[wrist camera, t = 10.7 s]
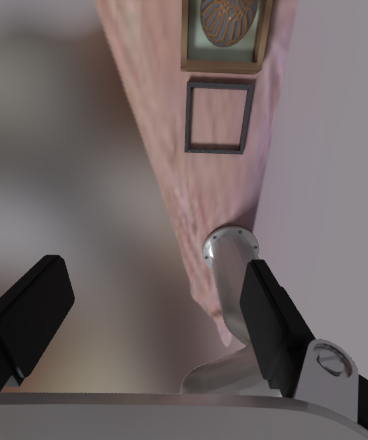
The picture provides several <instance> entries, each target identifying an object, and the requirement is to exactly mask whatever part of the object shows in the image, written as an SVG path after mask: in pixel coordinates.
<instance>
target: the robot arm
mask: <svg viewBox="0 0 368 440" xmlns="http://www.w3.org/2000/svg"><path fill="white" fill-rule="evenodd" d="M239 230H240V231H239ZM258 250H259V246H258V242H257V239H256V238H255V236H254V235H253V234H252V233H251V232H250V231H249V230H247V229H245V228H243V227H239V226H227V227H223V228H220V229H218V230H216V231H214V232H213V233H212V234H210V235H209V236H208V237H207V239H206V240H205V242H204V245H203V249H202V255H203V259H204V262H205V263H206V265H207V266H208V267H209V268H210V269H211V270H213V274H214V279H215V283H216V288H217V293H218V298H219V303H220V307H221V312H222V316H223V320H224V323H225V325H226V327H227V328H228V330H229V331H230V333H231V334H232V335H233V336H234V337H235V338H237V339H238V340H239V341H240V342H241V343H243V344H244V345H246V347H245V348H243V349H241V350H238V351H236V352H235V353H232V354H229V355H227V356H224V357H221V358H219V359H216V360H213V361H211V362H208V363H206V364H204V365H201V366H199V367H197V368H195V369H193V370H192V371H191V372H190V373H188V374H187V376H186V377H185V378H184V381H183V382H182V385H181V389H180V394H158V393H156V394H155V393H153V394H152V393H0V440H368V380H367V379H366V378H364V377H362V376H361V375H359V374H358V369H357V367H356V365H355V363H354V361H353V360H352V358H351V357H350V356H349V355H348V354H347V353H346V352H345V351H344V350H343V349H341V348H340V347H339V346H337V345H335V344H334V343H332V342H329V341H327V340H322V339H315V337H314V335H313V334H312V332H311V331H310V329H309V327H308V326H307V325H306V323H305V321H304V319H303V318H302V316H301V314H300V313H299V311H298V310H297V308H296V306H295V305H294V303H293V302H292V300H291V299H290V297H289V295H288V294H287V292H286V291H285V289H284V288H283V287H281V286H280V285H279V284H278V282H277V280H276V279H275V277H274V275H273V274H272V272H271V270H270V269H269V267H268V265H267V264H266V262H265V261H264V260H260V259H259V258H258V256H257V255H258V252H259V251H258ZM74 299H75V297H74V293H73V290H72V286H71V282H70V279H69V275H68V272H67V268H66V265H65V261H64V259H63V258H61V257H60V256H59V255H46V256H44V257H43V258H42V259H41V260H40V261H39V262H37V263H36V264H35V265H34V266H33V267H32V268H31V269H30V270H29V271H28V272H27V273H26V274H25V275H24V276H23V277H21V278H20V279H19V280H18V281H17V282H16V283H15V284H14V285H13V286H12V287H11V288H10V289H9V290H8V291H7V292H6V293H5V294H4V295H3V296H1V298H0V391H1V390H2V388H3V387H4V385H5V386H6V387H19V386H20V385H21V383H22V382H23V380H24V379H25V377H28V376H29V375H30V374H31V372H32V371H33V369H34V368H35V366H36V364H37V363H38V361H39V359H40V358H41V356H42V354H43V353H44V351H45V350H46V348H47V346H48V345H49V343H50V341H51V339H52V338H53V337H54V335H55V333H56V332H57V330H58V328H59V327H60V325H61V323H62V322H63V320H64V319H65V317H66V315H67V314H68V312H69V310H70V309H71V307H72V306H73V304H74Z"/></svg>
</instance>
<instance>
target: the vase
mask: <svg viewBox="0 0 368 440" xmlns="http://www.w3.org/2000/svg"><path fill="white" fill-rule="evenodd" d="M257 6H258V0H201V6H200V21H201V26H202V30H203V32H204V34H205V36H206V38H207V39H208V40H209V42H211V43H212V44H213V45H215V46H217V47H221V48H226V47H230V46H233V45H235V44H236V43H238V42H239V41H240V40H241V39H242V38H243V37H244V36H245V35H246V33H247V32H248V31H249V29H250V27H251V25H252V23H253V21H254V18H255V15H256V11H257Z"/></svg>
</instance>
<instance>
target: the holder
mask: <svg viewBox="0 0 368 440" xmlns="http://www.w3.org/2000/svg"><path fill="white" fill-rule="evenodd" d="M272 4H273V0H258V6H257V11H256V15H255V18H254V21H253V23H252V25H251V27H250V29H249V31H248V32H247V33H246V35H245V36H244V37H243V38H242V39H241V40H240V41H239V42H238V43H236V44H235V45H233V46H230V47H226V48H221V47H217V46H215V45H213V44H212V43H211V42H209V40H208V39H207V38H206V36H205V34H204V32H203V30H202V26H201V21H200V6H201V0H182V33H181V71H188V72H210V73H231V74H253V75H255V74H256V73H258V72H259V71H261V70H262V64H263V58H264V52H265V46H266V40H267V34H268V28H269V22H270V16H271V10H272Z"/></svg>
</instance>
